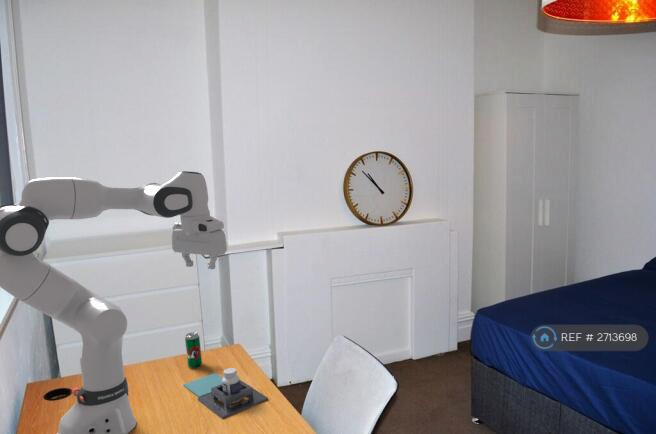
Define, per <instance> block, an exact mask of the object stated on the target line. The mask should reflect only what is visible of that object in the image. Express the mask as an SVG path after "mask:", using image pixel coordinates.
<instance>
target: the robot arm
mask: <svg viewBox="0 0 656 434" xmlns="http://www.w3.org/2000/svg"><path fill="white" fill-rule="evenodd" d="M207 186H208V185H207V181H206V178H205V176H204V175H203V174H202V173H200V172H198V171H187V170H185V171H184V170H183V171H179V172H178V173H177V174H176V175H175V176H174V177H173V178H171V179H170V180H168V181H167V182H165V183H163V184H162V183H161V184H160V183H158V182H157V183H156V182H151V183H150V182H149V183H145V184H144V185H141V186H139V187H135V188H134V187H133V188H132V187H131V188H130V187H129V188H128V187H126V188H125V187H109V186H105V185H102V184H101V183H100V182H98V181H94V180H92V179H86V178H80V177H65V176H64V177H61V176H60V177H43V178H35V179H31V180H29V181H28V182H26V184H25V185H24V187H23V189H22V192H21V200H20V201H19V203H18V204H4V205H0V288H1V289H3V290H4V291H5V292H7V293H8V294H9V295H11V296H12V297H14V298H16V299H17V300H19V301H20V302H23V303H24V304H26V305H28V306H30V307H32V308H33V309H36V310H37V311H39V312H41V313H42V314H45V315H46V316H48V317H50V318H52V319H54V320H56V321H58V322H60V323H61V324H64V325H66V326H68V327H69V328H71V329H73V330H74V331H76V332H77V333H79V334H80V336H81V339H82V350H81V351H82V352H81V357H80V360H79V366H80V367H79V368H80V373H81V379H82V386H81V388H78V387H77V386H75V387H73V388H72V389H71V394H72V395H73V396H74V397H76V403H74V404H73V405H72V406H71V408H69V410H67V412H65V414H64V415H63V416H61V418H60V419H59V423H58V424H59V425H58V432H59V433H58V432H57V433H55V434H129V433H130V432H131V431H132V430H133V429H134V428H135V427H136V425H137V418H136V417H135V415H134V412H133V410H132V406H131V404H130V400H129V383H128V380H127V377H126V376H125V369H124V368H125V367H124V362H123V361H124V360H123V341H124V335H125V333H126V331H127V328H128V320H127V317H126V315H125V313H124V312H123V310H122V309H121V308H120V306H118V305H116V304H115V303H112V302H110V301H108V300H107V299H105V298H103V297H101V296H99V295H98V294H96V293H94V292H92V291H91V290H90V289H88V288H87V287H85V286H83V285H82V284H81V283H80V282H78V281H77V280H74V279H73V278H72V277H70V276H68V275H66V274H65V273H63V272H62V271H60V270H58V269H57V268H56V267H54V266H52V265H51V264H49V263H47V262H46V261H44V260H43V259H41V258H40V257H38V256H37V255H36V254H35V253H34V252H36V250H38V249H39V248H40V247H41V245H42V244H43V241H44V238H45V235H46V232H47V230H48V227H49V225H50V221H53V220H84V219H91V218H97V217H98V216H99V215H101V214H102V213H103V212H105V211H109V210H135V211H138V212H140V213H143V214H144V215H148V216H153V217H154V216H155V217H160V218H164V219H169V218H170V219H171V218H174V217H178V216H180V217H179V218H180V222H175V223H174V224H173V226H172V233H171V247H172V250H173V252H174V253H179V254H180V253H181V256H182V258H183V260H184V262H185V267H188V268H191V267H194V260H192V259H191V257H190V255H191V254H192V255H202V256H203V255H204V256H208V259H210V262H208V263H207V269H208V270H215V269H216V262H217V260H218V257H220V256H222V255H225V254H226V252H227V250H228V249H227V247H228V245H227V238H226V234H225V231H224V230H222V229H224V228H225V225H224V221H221V220H219V219H217V218H215V217H214V216H211V213H210V212H211V211H210V209H209V193H208V187H207Z"/></svg>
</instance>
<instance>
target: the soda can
mask: <svg viewBox="0 0 656 434" xmlns="http://www.w3.org/2000/svg"><path fill="white" fill-rule="evenodd" d="M184 341H185V351H186V360H187V367H189V368H190V369H197V368H200V367H201V366H202V365H203V359H202V349H201V339H200V335H199V333H198V332H194V331H193V332H188V333H186V334H185V337H184Z"/></svg>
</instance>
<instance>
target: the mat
mask: <svg viewBox="0 0 656 434" xmlns="http://www.w3.org/2000/svg"><path fill="white" fill-rule="evenodd" d="M223 377H224V376H222V375H220V374H218V373H217V372H214V373H211V374H208V375H206V376H203V377H200V378H198V379H194V380H192V381H189V382H186V383H183V384H182V385H183V388H186V389H187V390H189V392H191V393H192V394H193V395H195V396H196V397H197V398H200V397H203V396H205V395H208V394H211V388H213V387H215V386H218V385H221V384H222V379H223Z"/></svg>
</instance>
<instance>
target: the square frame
mask: <svg viewBox="0 0 656 434" xmlns="http://www.w3.org/2000/svg"><path fill="white" fill-rule="evenodd" d="M240 389H241V390H240V391H238V392H235V393H233V394H230V395H226V394H224V393H223V385H222V384H221V385H218V386H215V387H213V388H211V394H208V395H205V396H203V397H200V398H199V397H197V401H198V402H199V403H201V404H202V405H203V406H205V407H206V408H207V409H209V410H210V411H211V412H212V413H214V414H215V415H217V416H218V417H219V418H221V420H223V419H225V418H228V417H230V416H233V415H234V414H237V413H240V412H242V411H244V410H247V409H249V408H251V407H253V406H256V405H258V404H261V403H264V402H267V401H269V398H268V396H266V395H264V394H263V393H262V392H259V391H258V390H257V389H255V388H254V387H252V386H250V385H249V384H247V383H246V382H245V381H242V380H241V379H240ZM243 398H247V399H246V400H244V401H242V402H238V403H235V405H232V406H231V404H230V403H231V402H234V401H236V400H239V399H241V400H242V399H243ZM218 400H220V402H222V403H223V404H224V405H223V404H221V403H220V402H219V401H218Z"/></svg>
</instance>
